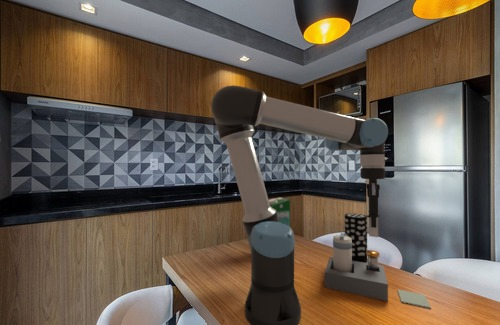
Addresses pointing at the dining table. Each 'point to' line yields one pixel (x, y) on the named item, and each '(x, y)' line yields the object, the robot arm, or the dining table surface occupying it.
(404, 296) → the mat
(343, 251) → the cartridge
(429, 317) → the dining table surface
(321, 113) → the robot arm
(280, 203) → the milk carton
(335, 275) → the block
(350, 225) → the white-spotted black cylinder
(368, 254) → the gold lidded jar
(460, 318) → the dining table surface
